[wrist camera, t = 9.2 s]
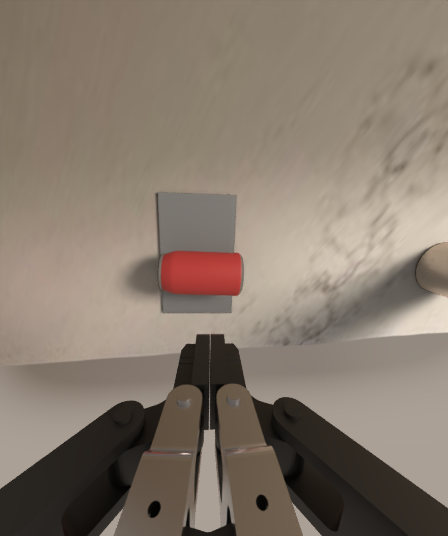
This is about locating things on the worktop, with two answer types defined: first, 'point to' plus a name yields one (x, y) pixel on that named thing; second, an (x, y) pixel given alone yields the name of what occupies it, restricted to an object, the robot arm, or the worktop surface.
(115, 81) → the worktop surface
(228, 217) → the slate mat
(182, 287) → the beer can
